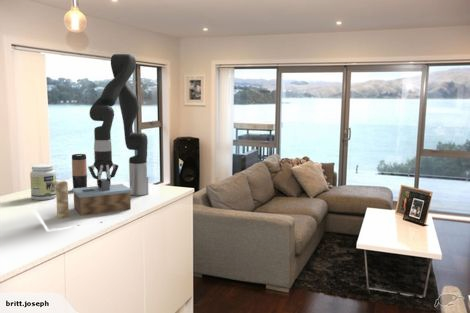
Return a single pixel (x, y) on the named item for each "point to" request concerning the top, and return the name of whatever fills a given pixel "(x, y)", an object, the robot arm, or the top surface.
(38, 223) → the top surface
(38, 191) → the supplement tub
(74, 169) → the travel mug
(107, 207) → the wooden box
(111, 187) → the lid
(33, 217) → the top surface
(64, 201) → the beech key
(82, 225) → the top surface
